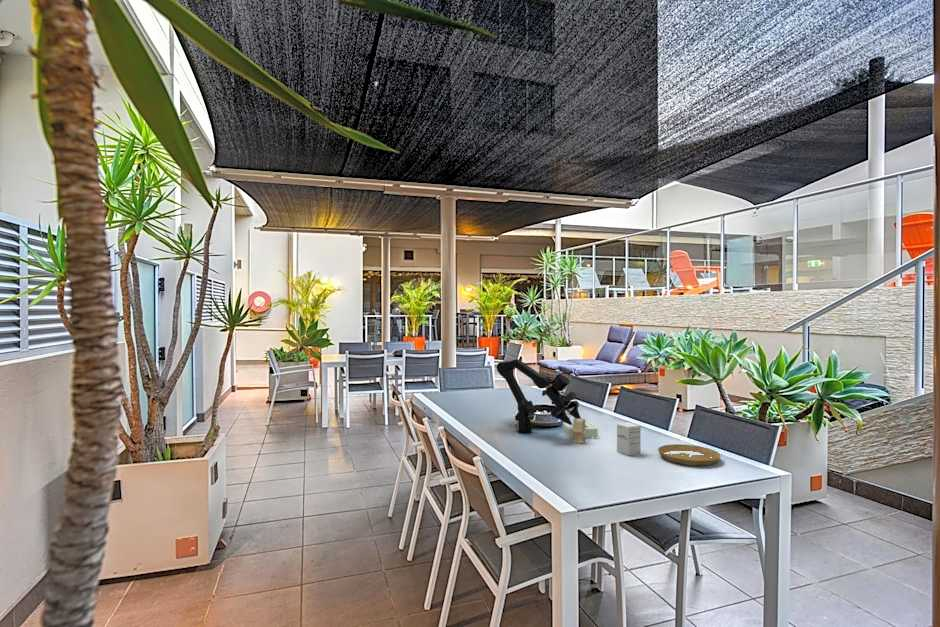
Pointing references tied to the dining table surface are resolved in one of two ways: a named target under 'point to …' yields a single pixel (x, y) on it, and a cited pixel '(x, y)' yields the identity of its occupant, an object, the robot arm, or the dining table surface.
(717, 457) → the plant saucer
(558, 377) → the robot arm
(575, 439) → the maple block
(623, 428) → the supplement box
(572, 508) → the dining table surface
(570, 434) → the slot box
